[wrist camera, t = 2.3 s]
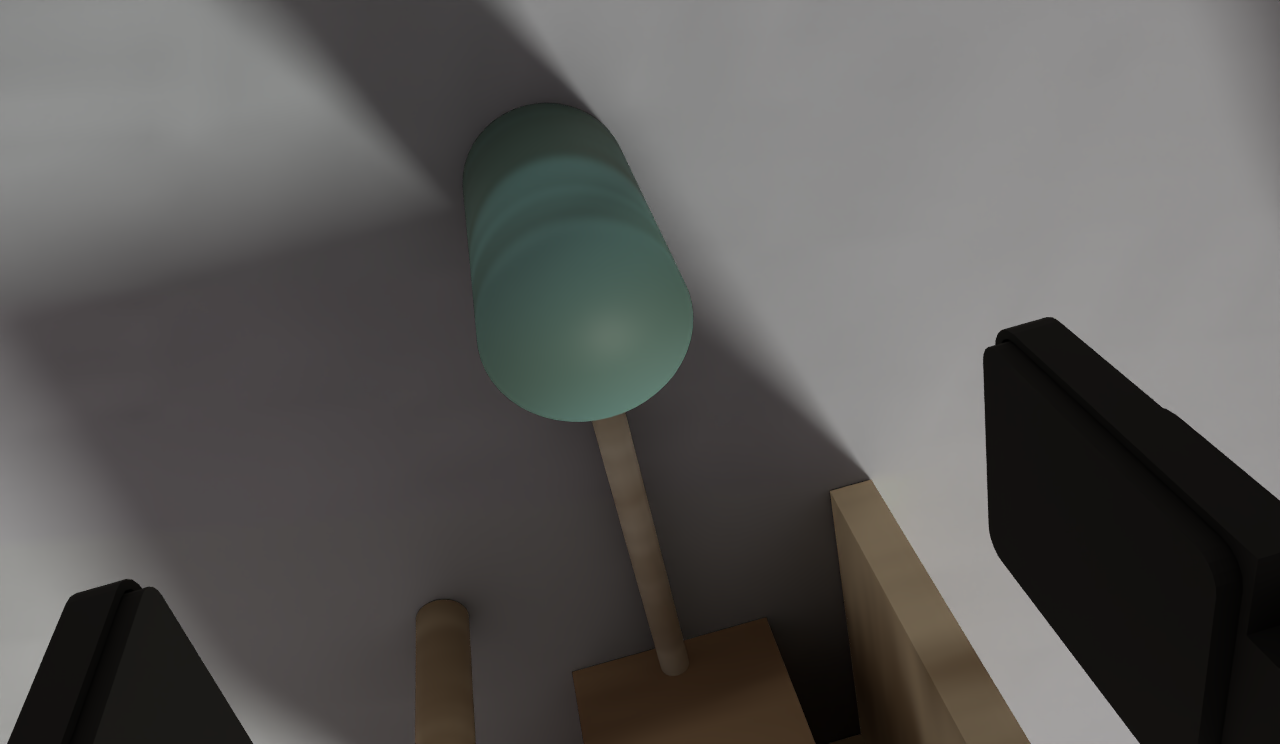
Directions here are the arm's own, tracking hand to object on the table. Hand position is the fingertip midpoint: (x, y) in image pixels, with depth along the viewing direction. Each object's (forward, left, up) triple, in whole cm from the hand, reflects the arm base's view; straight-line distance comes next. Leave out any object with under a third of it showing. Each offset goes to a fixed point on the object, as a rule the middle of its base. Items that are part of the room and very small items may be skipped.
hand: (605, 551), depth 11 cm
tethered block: (+7, 0, -9) cm, 12 cm away
